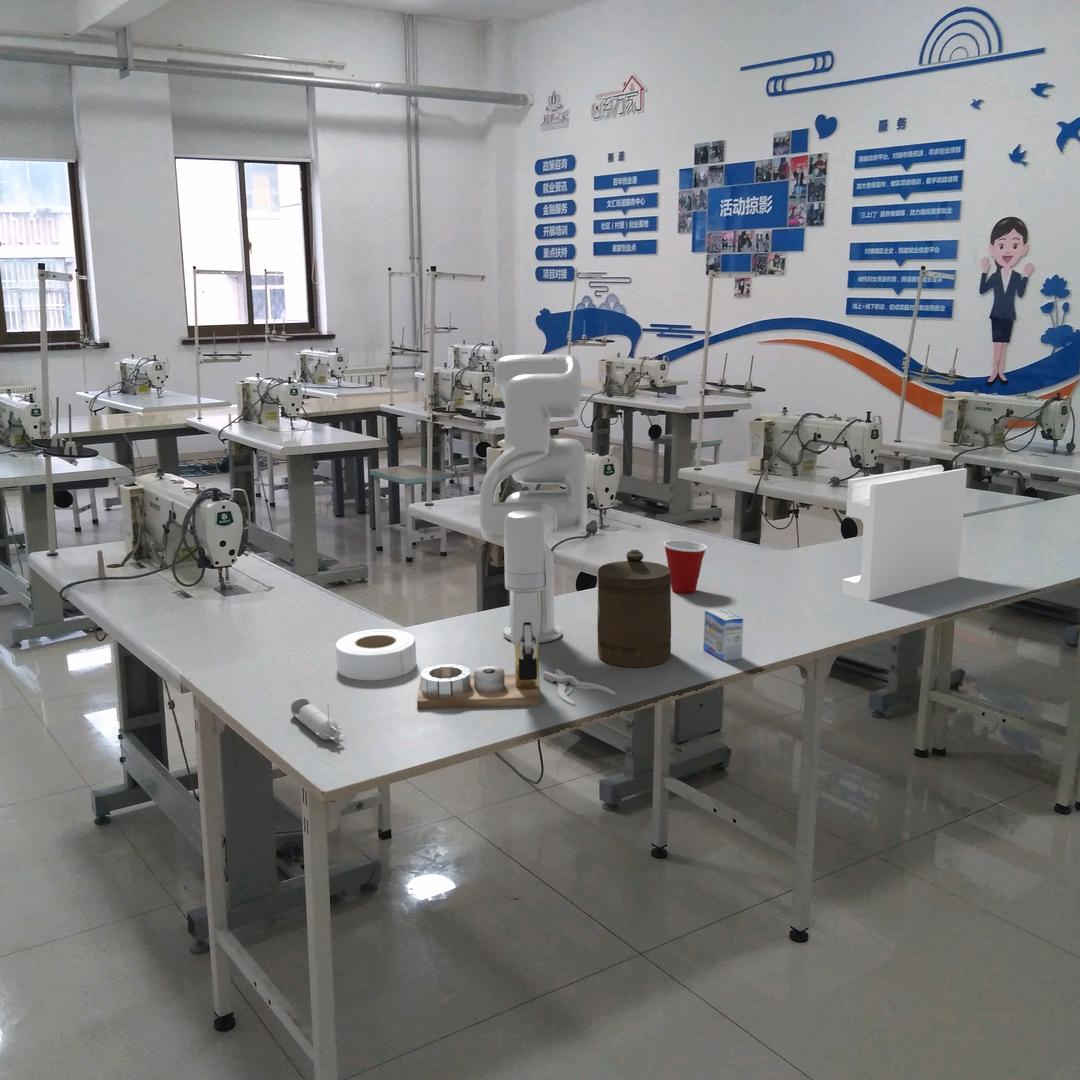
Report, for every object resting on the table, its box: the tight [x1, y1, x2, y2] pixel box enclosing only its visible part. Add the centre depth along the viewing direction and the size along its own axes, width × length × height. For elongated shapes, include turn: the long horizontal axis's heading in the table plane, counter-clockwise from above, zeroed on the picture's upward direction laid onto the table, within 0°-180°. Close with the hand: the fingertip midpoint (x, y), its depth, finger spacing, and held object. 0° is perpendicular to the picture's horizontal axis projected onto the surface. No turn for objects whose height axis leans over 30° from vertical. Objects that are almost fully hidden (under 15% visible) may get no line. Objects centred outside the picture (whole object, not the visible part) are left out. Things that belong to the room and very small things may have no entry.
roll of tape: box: [335, 628, 417, 681], centre depth 212 cm, size 16×16×6 cm
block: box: [841, 464, 968, 602], centre depth 262 cm, size 35×8×28 cm, turn 125°
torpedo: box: [290, 697, 345, 746], centre depth 182 cm, size 18×5×7 cm, turn 35°
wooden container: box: [596, 549, 672, 668], centre depth 215 cm, size 15×15×22 cm
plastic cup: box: [663, 539, 709, 595], centre depth 261 cm, size 11×11×12 cm
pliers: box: [542, 668, 617, 706], centre depth 200 cm, size 10×2×15 cm
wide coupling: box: [420, 663, 471, 697], centre depth 196 cm, size 9×9×3 cm
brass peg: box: [514, 641, 540, 690], centre depth 196 cm, size 4×4×8 cm
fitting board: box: [416, 665, 541, 710], centre depth 196 cm, size 12×22×5 cm, turn 93°
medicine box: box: [702, 608, 744, 662], centre depth 216 cm, size 8×4×9 cm, turn 23°
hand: (527, 670), depth 196 cm, fingers open, 7 cm apart
